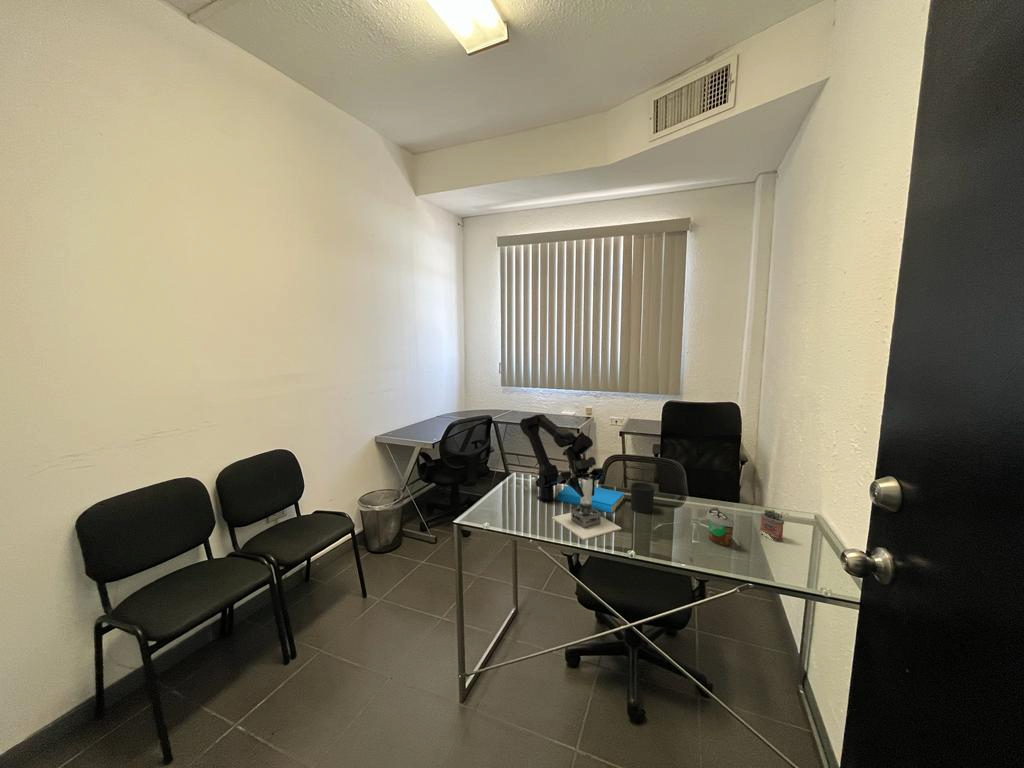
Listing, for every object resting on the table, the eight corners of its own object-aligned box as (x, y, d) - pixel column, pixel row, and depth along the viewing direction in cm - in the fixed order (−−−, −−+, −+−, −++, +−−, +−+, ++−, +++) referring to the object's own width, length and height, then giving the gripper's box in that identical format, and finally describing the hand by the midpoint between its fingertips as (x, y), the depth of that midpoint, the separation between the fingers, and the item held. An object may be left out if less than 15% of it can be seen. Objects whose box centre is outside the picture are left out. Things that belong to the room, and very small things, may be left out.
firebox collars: (571, 520, 157) (571, 509, 157) (587, 516, 161) (587, 505, 161) (584, 528, 150) (584, 516, 150) (600, 524, 154) (600, 512, 154)
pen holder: (658, 510, 169) (659, 487, 168) (643, 515, 164) (644, 492, 163) (639, 503, 177) (640, 481, 176) (625, 507, 171) (626, 485, 170)
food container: (699, 532, 150) (700, 506, 149) (715, 532, 149) (717, 506, 148) (714, 548, 137) (716, 520, 136) (732, 549, 137) (734, 521, 136)
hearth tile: (552, 518, 160) (552, 517, 160) (587, 509, 169) (587, 508, 169) (583, 540, 143) (583, 538, 143) (621, 529, 151) (621, 527, 151)
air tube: (577, 511, 155) (578, 478, 154) (583, 507, 159) (584, 476, 157) (587, 514, 152) (588, 481, 151) (594, 511, 156) (595, 478, 154)
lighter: (757, 533, 149) (758, 507, 148) (763, 531, 150) (764, 506, 149) (778, 543, 141) (780, 516, 140) (784, 541, 143) (787, 514, 142)
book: (573, 482, 193) (624, 491, 179) (573, 490, 193) (624, 501, 180) (557, 493, 178) (612, 504, 165) (557, 502, 179) (612, 514, 165)
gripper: (560, 451, 154) (573, 489, 145) (603, 448, 160) (618, 484, 150) (552, 465, 162) (563, 502, 153) (592, 461, 168) (606, 496, 159)
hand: (588, 496), depth 153 cm, fingers closed on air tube, 4 cm apart
